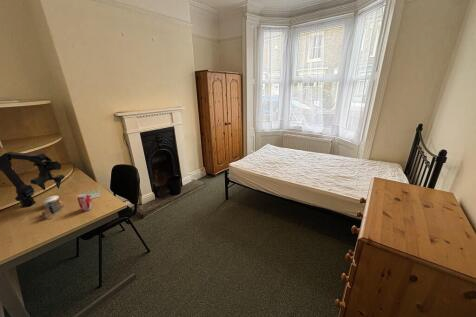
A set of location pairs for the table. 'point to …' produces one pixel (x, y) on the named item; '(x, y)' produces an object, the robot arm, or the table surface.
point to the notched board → (48, 214)
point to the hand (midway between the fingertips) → (51, 189)
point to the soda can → (84, 202)
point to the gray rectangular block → (51, 207)
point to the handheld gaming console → (93, 194)
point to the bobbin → (50, 199)
